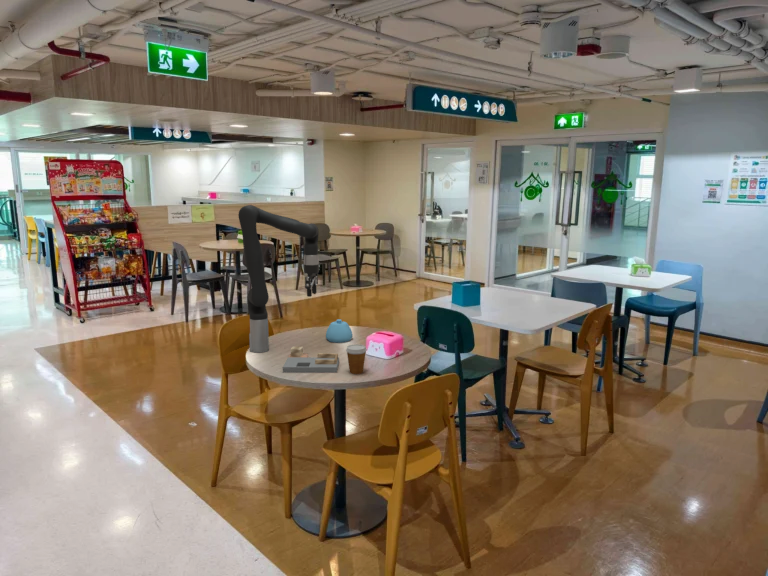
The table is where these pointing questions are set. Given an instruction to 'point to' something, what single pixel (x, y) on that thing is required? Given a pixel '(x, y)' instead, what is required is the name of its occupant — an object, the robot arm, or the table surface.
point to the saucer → (301, 356)
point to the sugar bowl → (339, 332)
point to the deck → (309, 365)
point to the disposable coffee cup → (356, 358)
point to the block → (296, 351)
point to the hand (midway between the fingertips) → (311, 294)
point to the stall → (327, 360)
